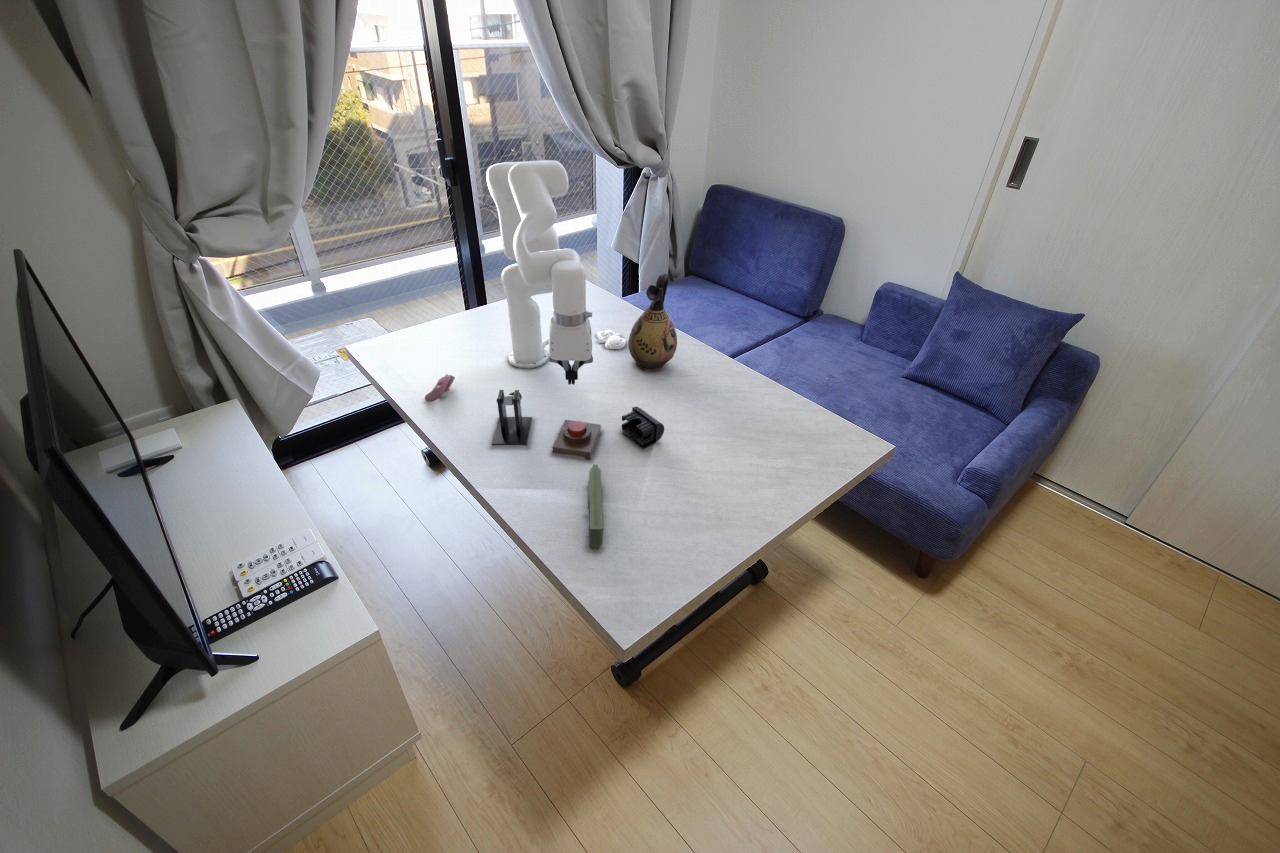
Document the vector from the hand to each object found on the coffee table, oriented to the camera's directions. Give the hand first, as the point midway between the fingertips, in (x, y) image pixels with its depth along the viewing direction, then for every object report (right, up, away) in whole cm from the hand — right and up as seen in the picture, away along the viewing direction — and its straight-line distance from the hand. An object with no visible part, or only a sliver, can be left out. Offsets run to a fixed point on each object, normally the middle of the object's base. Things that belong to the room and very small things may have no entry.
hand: (571, 381), depth 142 cm
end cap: (+18, -14, +12) cm, 26 cm away
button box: (0, -16, +9) cm, 18 cm away
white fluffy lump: (+7, +18, +53) cm, 57 cm away
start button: (+1, -13, +6) cm, 14 cm away
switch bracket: (-17, -13, +11) cm, 24 cm away
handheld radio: (+7, -31, -10) cm, 33 cm away
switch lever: (-17, -6, +9) cm, 20 cm away
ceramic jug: (+21, +9, +43) cm, 49 cm away
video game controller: (-41, -2, +24) cm, 47 cm away
